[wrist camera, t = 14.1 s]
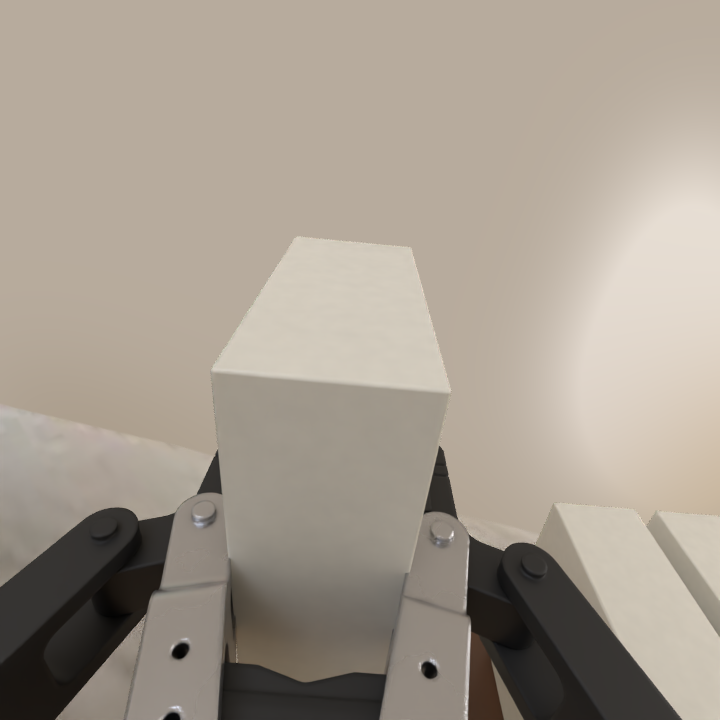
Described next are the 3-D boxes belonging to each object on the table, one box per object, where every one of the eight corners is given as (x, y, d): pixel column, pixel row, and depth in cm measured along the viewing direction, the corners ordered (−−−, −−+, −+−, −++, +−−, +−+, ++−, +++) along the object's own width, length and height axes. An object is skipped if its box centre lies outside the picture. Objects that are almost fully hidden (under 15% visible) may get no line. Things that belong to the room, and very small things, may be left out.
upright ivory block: (243, 733, 12) (208, 369, 6) (291, 509, 19) (294, 235, 13) (371, 742, 12) (453, 390, 6) (372, 515, 19) (412, 246, 13)
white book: (640, 865, 18) (819, 740, 12) (565, 654, 25) (655, 509, 19) (725, 870, 18) (946, 750, 12) (627, 659, 25) (736, 516, 19)
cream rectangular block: (533, 858, 18) (659, 729, 12) (488, 649, 25) (553, 501, 19) (619, 863, 18) (788, 739, 12) (550, 653, 25) (635, 508, 19)
